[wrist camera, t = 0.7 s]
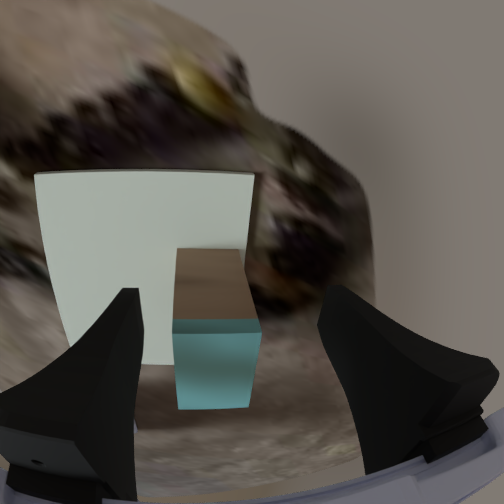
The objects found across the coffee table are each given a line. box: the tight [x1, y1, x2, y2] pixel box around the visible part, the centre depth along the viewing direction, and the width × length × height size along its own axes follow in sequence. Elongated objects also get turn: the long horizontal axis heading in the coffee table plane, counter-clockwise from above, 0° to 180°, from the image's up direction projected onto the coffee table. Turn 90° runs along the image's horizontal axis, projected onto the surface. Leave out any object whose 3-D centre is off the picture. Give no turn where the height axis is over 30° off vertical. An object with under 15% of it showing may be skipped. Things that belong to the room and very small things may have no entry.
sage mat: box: [34, 169, 255, 365], centre depth 21 cm, size 16×14×1 cm
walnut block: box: [172, 248, 262, 409], centre depth 19 cm, size 6×4×8 cm, turn 174°
